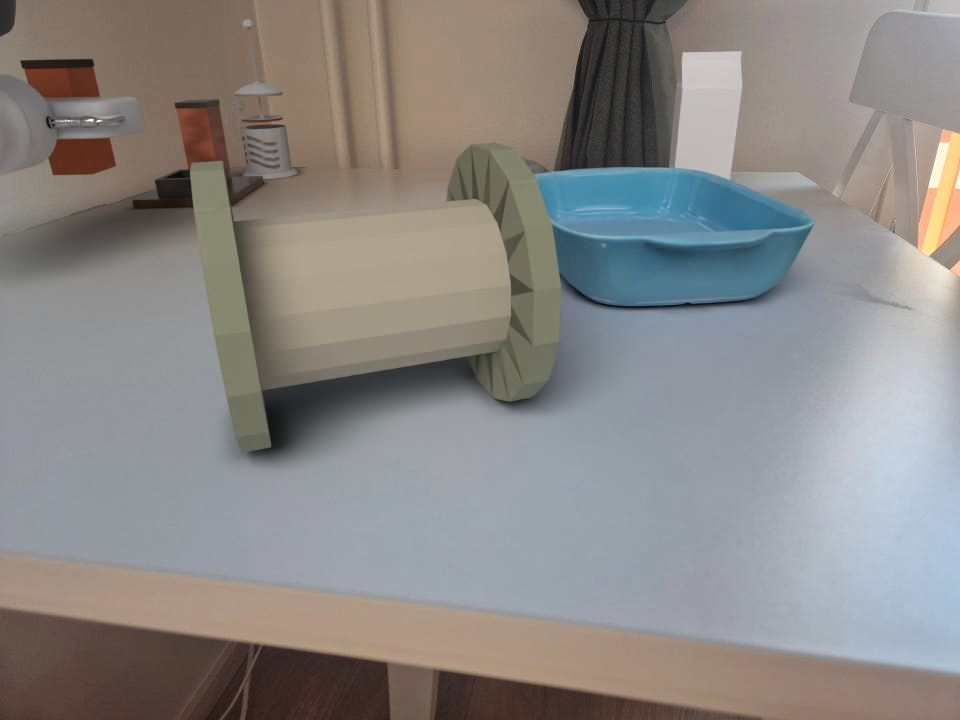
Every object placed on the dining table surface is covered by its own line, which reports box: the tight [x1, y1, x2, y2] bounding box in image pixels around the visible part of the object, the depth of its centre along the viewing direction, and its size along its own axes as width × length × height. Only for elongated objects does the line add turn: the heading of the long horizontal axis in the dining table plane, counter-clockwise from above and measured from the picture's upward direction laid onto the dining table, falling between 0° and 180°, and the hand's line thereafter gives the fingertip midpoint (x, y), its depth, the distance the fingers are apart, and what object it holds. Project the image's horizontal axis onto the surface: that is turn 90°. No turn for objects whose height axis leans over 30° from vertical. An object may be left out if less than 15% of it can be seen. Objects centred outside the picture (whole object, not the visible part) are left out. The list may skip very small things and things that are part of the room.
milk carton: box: [668, 50, 743, 180], centre depth 88 cm, size 7×7×19 cm
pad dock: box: [131, 98, 265, 209], centre depth 103 cm, size 14×18×13 cm
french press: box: [224, 18, 299, 180], centre depth 117 cm, size 10×12×25 cm
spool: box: [190, 142, 562, 454], centre depth 39 cm, size 16×15×15 cm
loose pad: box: [19, 58, 117, 176], centre depth 77 cm, size 5×6×12 cm
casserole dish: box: [534, 166, 815, 307], centre depth 67 cm, size 37×22×7 cm, turn 5°
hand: (74, 111), depth 78 cm, fingers closed on loose pad, 4 cm apart
